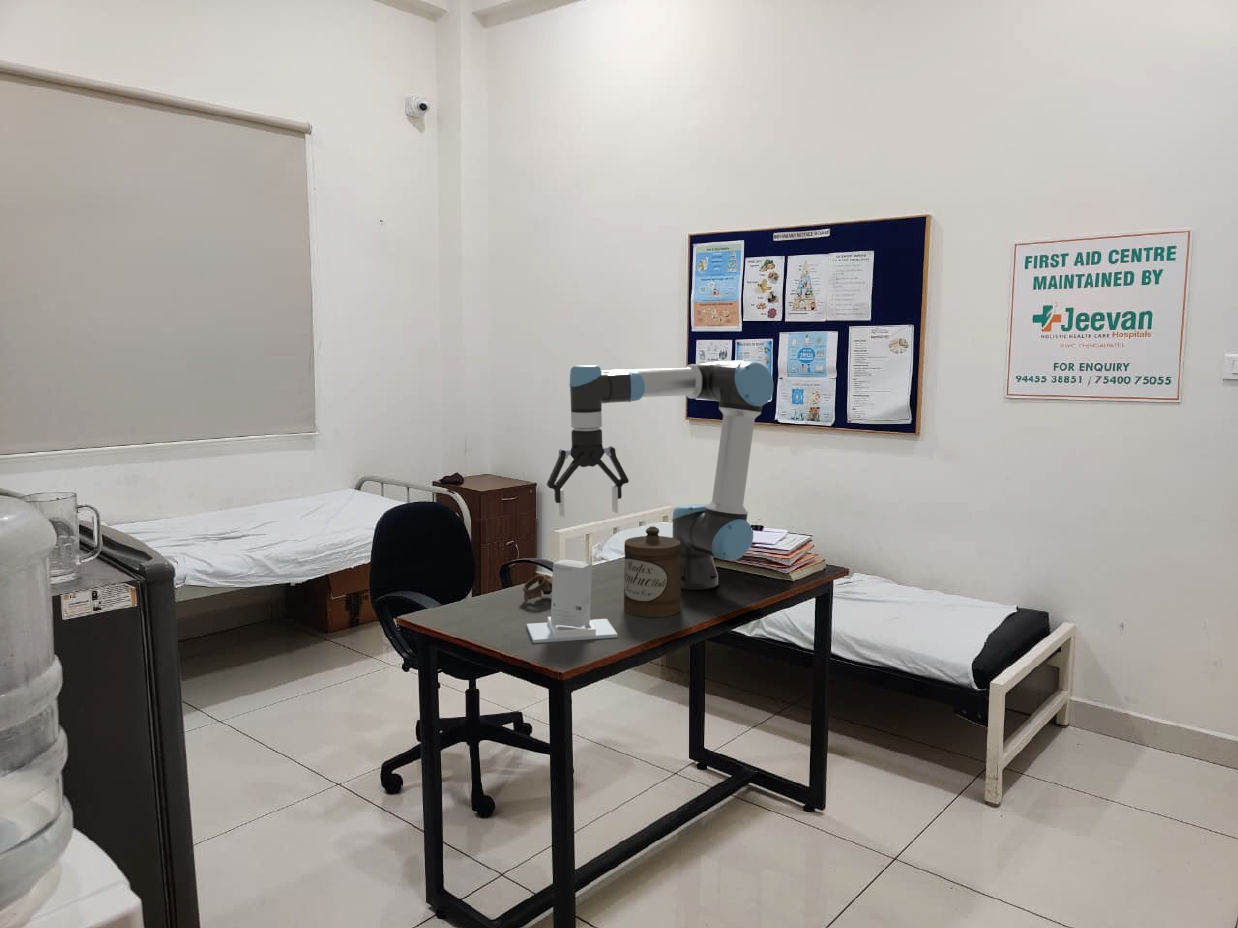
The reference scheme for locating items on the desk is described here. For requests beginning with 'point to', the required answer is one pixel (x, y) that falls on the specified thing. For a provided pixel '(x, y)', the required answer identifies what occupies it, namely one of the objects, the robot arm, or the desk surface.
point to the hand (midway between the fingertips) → (588, 513)
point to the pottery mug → (538, 587)
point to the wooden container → (652, 575)
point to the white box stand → (570, 631)
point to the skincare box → (571, 593)
